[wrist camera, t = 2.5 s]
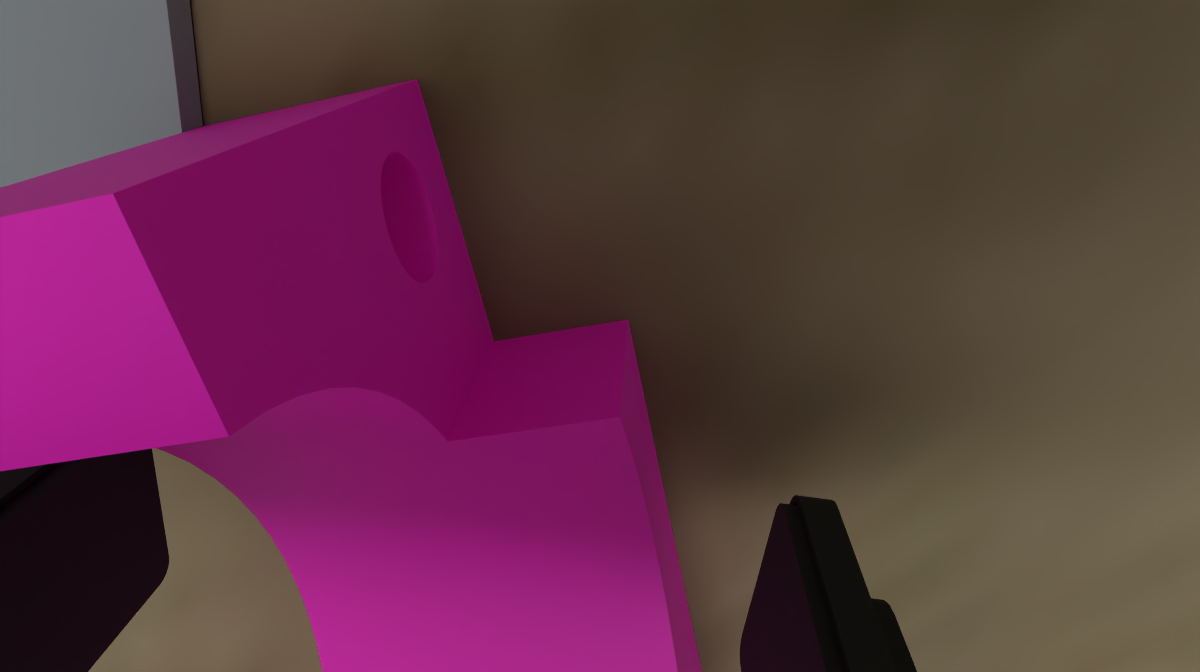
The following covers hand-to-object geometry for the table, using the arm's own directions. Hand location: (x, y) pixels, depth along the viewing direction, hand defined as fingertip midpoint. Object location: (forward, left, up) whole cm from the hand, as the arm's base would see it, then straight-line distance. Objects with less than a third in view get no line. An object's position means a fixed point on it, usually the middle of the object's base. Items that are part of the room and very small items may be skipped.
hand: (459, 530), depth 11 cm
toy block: (0, +1, -4) cm, 4 cm away
